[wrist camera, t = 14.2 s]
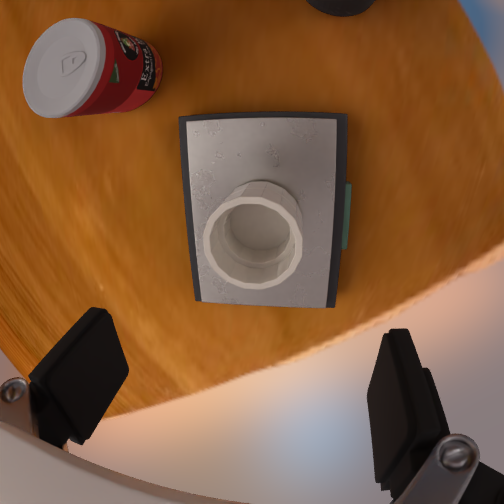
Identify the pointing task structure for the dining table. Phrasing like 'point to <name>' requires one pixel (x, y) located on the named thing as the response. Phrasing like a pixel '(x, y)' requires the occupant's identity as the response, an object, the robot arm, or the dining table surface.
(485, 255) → the dining table surface
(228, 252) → the white cup
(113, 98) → the canned food
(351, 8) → the travel mug
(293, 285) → the platform
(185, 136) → the scale
